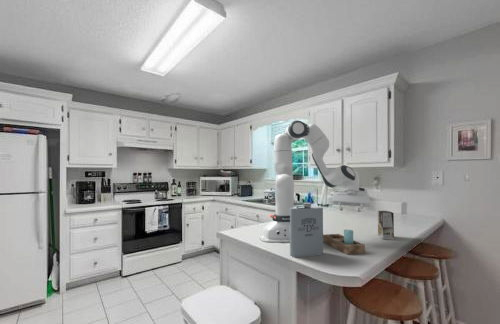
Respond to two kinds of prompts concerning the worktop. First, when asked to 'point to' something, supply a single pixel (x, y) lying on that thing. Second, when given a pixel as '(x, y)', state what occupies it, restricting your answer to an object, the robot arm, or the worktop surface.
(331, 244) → the wooden compartment tray
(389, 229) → the coffee box
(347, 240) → the peg
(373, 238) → the worktop surface
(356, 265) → the worktop surface
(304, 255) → the flask
